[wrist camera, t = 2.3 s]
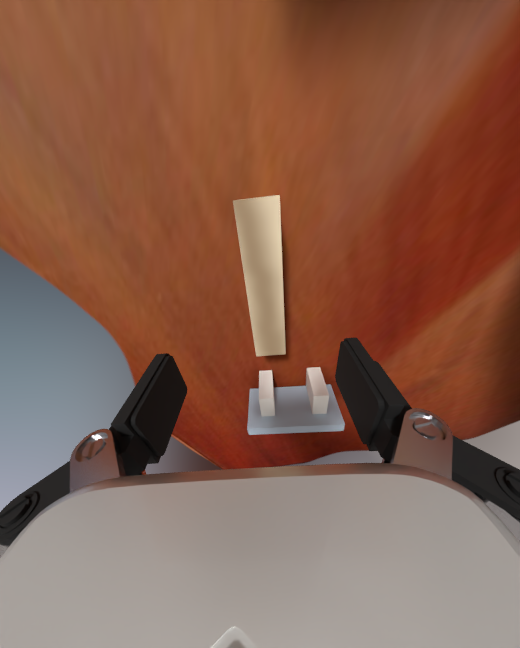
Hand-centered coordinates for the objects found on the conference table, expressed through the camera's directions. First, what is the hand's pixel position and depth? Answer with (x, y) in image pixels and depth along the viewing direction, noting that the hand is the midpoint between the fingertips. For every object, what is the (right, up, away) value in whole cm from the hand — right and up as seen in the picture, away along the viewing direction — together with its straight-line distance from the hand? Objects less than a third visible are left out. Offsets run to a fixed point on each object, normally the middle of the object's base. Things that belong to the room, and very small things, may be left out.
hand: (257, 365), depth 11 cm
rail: (+1, +9, +15) cm, 18 cm away
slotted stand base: (+6, -9, +27) cm, 29 cm away
